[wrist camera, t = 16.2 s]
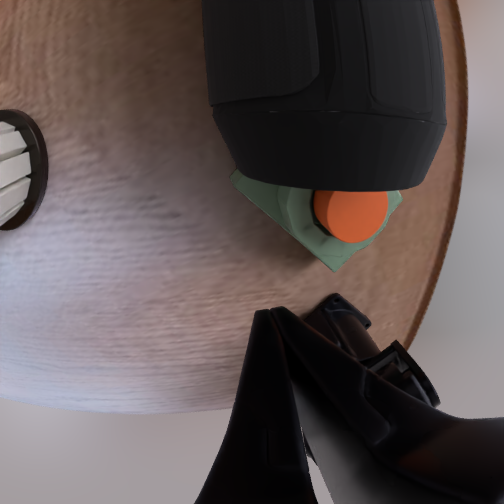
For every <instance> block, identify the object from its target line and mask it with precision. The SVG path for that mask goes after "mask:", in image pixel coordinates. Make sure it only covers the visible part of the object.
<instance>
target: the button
mask: <svg viewBox="0 0 504 504" xmlns="http://www.w3.org/2000/svg"><path fill="white" fill-rule="evenodd" d="M313 207H314V212H315V215H316V217H317V219H318V220H319V222H320V223H321V224H322V225H323V226H324V227H325V228H326V229H327V230H328V231H329V232H330V233H331V234H332V235H333V236H334V237H336V238H337V239H338V240H340V241H342V242H346V243H358V242H362V241H364V240H366V239H368V238H370V237H371V236H372V235H374V234H375V233H376V232H377V231H378V229H379V228H380V227H381V225H382V224H383V222H384V220H385V217H386V214H387V210H388V196H387V192H386V191H384V192H342V191H322V190H315V193H314V199H313Z"/></svg>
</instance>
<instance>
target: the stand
mask: <svg viewBox="0 0 504 504" xmlns="http://www.w3.org/2000/svg"><path fill="white" fill-rule="evenodd" d="M0 122H5V123H7V124H9V125H12V126H14V127H15V130H14V132H15V131H19V132H20V134H21V136H22V138H23V140H24V141H25V143H26V145H27V147H26V148H25V149H24V150H23V151H22V153H21V154H23V153H26V152H29V157H30V165H31V173H30V174H28V175H26V177H28V178H30V179H31V181H30V185H29V190H28V194H27V198H26V199H24V200H23V201H24V204H23V206H22V207H21V208H20V209H19V211H18V212H17V213H16V214H15V215H14V216H13V217H11V218H10V219H9V220H8V221H6V222H5V223H4V224H2V225H1V226H0V230H2V231H8V230H13V229H16V228H18V227H19V226H21V225H22V224H24V223H25V222H26V221H27V220H28V219H30V218H31V217H32V216H33V215H34V213H35V212H36V211H37V209H38V208H39V206H40V204H41V202H42V199H43V197H44V194H45V190H46V186H47V180H48V155H47V150H46V145H45V142H44V138H43V136H42V134H41V131H40V129H39V128H38V126H37V124H36V123H35V122H34V121H33V119H32V118H31V117H29V116H28V115H27V114H25V113H24V112H22V111H19V110H15V109H6V110H0Z"/></svg>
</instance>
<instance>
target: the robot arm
mask: <svg viewBox="0 0 504 504" xmlns="http://www.w3.org/2000/svg"><path fill="white" fill-rule="evenodd" d="M335 299H336V300H335ZM370 326H371V321H370V320H369V319H368V318H367V317H366V316H365V315H363V314H362V313H361V312H360V311H359V310H358V309H356V308H355V307H354V306H353V305H352V304H350V303H349V302H348V301H347V300H346V299H344V298H343V297H342V296H341V295H340V294H338V293H335V294H332V295H331V296H330V297H329V298H328V299H327V300H326V301H325V302H324V303H323V304H322V305H320V306H319V307H318V308H317V309H316V310H315V311H314V312H313V313H312V314H311V315H310V316H308V317H307V318H306V319H305V320H304V321H303V320H301V319H300V318H299V317H297V316H296V315H295V314H293V313H292V312H291V311H289V310H288V309H287V308H285V307H283V306H280V307H275V308H271V309H270V310H269V309H263V310H257V311H255V314H254V318H253V323H252V327H251V332H250V336H249V341H248V345H247V350H246V354H245V359H244V363H243V367H242V372H241V376H240V380H239V385H238V389H237V393H236V398H235V402H234V405H233V410H232V414H231V417H230V421H229V424H228V428H227V431H226V434H225V437H224V439H223V442H222V445H221V447H220V450H219V452H218V454H217V457H216V459H215V461H214V463H213V466H212V468H211V471H210V472H209V475H208V477H207V479H206V481H205V483H204V486H203V488H202V490H201V492H200V494H199V496H198V498H197V499H196V501H195V503H194V504H318V502H317V499H316V497H315V493H314V490H313V486H312V482H311V477H310V474H309V467H308V462H307V457H306V454H307V456H308V457H310V458H312V459H313V461H314V462H315V463H316V465H317V466H318V467H319V470H320V472H321V474H322V477H323V479H324V481H325V483H326V486H327V488H328V491H329V493H330V495H331V498H332V500H333V502H334V504H504V417H498V418H482V419H464V418H458V417H454V416H451V415H448V414H446V413H444V412H442V411H440V410H438V409H436V407H437V406H439V405H440V400H439V397H438V395H437V393H436V391H435V389H434V387H433V385H432V384H431V382H430V380H429V379H428V377H427V376H426V375H425V373H424V372H423V371H422V369H421V368H420V367H419V366H418V364H417V363H416V362H415V361H414V360H413V358H412V357H411V356H410V355H409V354H408V353H407V351H406V350H405V349H404V348H403V347H402V345H401V344H400V343H399V342H398V341H397V340H395V341H394V342H392V343H391V345H390V346H389V347H387V348H386V349H384V350H383V351H382V352H381V351H380V350H379V348H378V347H377V345H376V344H375V342H374V341H373V340H372V338H371V337H370V335H369V334H368V332H367V331H366V330H367V329H368V328H369V327H370ZM300 425H301V426H300ZM301 427H302V431H301ZM302 432H303V436H302ZM303 438H304V441H303ZM304 445H305V446H304ZM305 449H306V451H305Z"/></svg>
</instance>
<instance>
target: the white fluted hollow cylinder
mask: <svg viewBox="0 0 504 504" xmlns="http://www.w3.org/2000/svg"><path fill="white" fill-rule="evenodd" d="M14 130H15V127H14V126H12V125H9V124H7V123H5V122H0V226H1V225H2V224H4V223H5V222H6V221H8V220H9V219H10V218H11V217H13V216H14V215H15V214H16V213H17V212H18V211H19V209H20V208H21V207H22V206H23V204H24V201H23V200H24V199H26V198H27V194H28V190H29V185H30V181H31V179H30V178H28V177H26V175H28V174H30V173H31V165H30V157H29V152H26V153H23V154H21V153H22V151H23V150H24V149H25V148H26V147H27V145H26V143H25V141H24V140H23V138H22V136H21V134H20V132H19V131H15V132H14Z"/></svg>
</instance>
